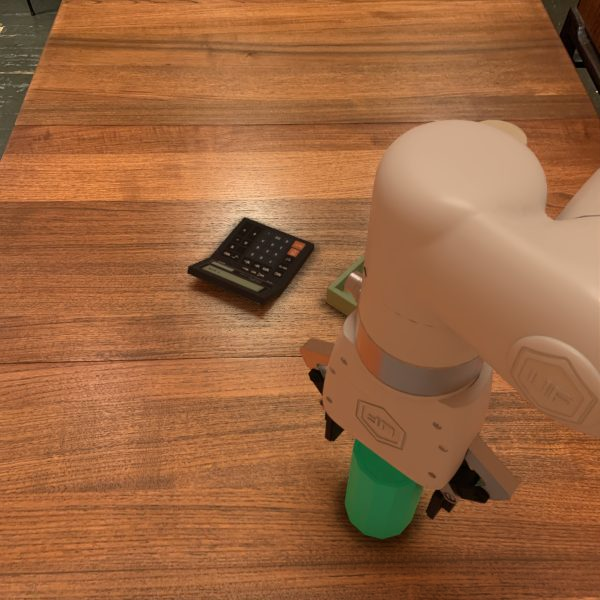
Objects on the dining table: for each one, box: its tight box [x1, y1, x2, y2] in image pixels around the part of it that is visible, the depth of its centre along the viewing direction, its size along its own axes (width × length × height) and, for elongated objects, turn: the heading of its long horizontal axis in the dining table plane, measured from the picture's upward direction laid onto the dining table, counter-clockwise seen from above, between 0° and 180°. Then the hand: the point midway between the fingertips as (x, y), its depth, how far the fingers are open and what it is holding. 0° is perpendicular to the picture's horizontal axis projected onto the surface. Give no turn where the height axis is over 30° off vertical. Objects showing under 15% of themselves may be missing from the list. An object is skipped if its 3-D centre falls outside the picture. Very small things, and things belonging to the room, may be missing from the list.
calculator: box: [186, 216, 315, 307], centre depth 73 cm, size 9×12×3 cm
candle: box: [344, 437, 425, 540], centre depth 52 cm, size 6×6×12 cm
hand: (388, 463), depth 50 cm, fingers open, 9 cm apart
